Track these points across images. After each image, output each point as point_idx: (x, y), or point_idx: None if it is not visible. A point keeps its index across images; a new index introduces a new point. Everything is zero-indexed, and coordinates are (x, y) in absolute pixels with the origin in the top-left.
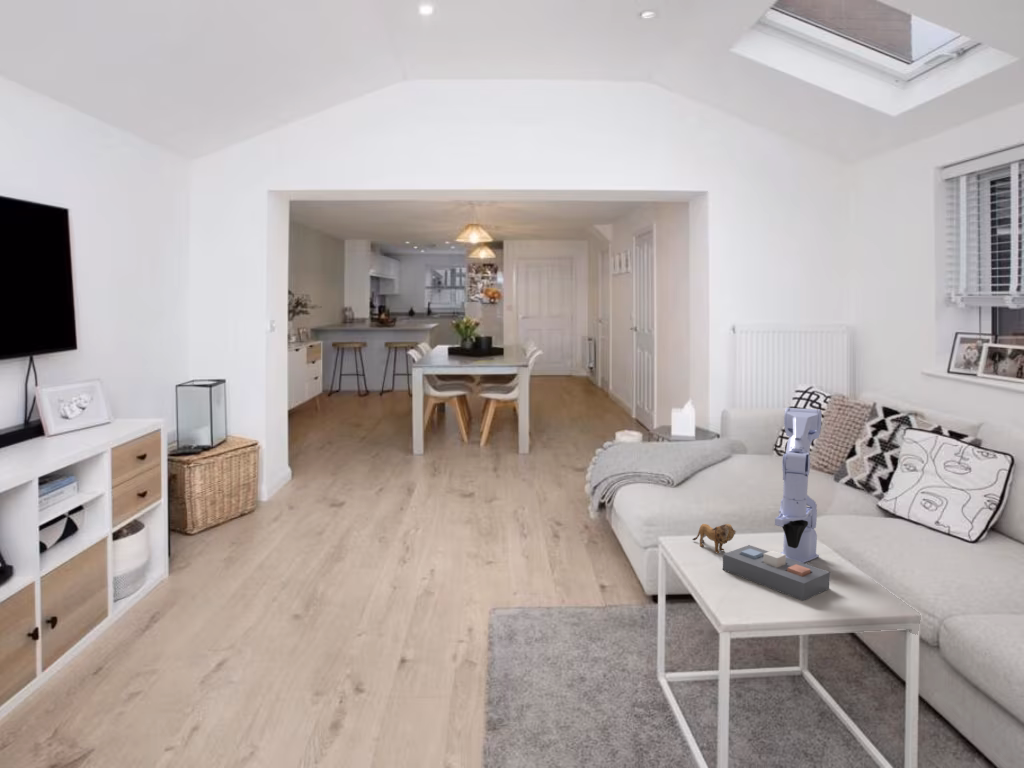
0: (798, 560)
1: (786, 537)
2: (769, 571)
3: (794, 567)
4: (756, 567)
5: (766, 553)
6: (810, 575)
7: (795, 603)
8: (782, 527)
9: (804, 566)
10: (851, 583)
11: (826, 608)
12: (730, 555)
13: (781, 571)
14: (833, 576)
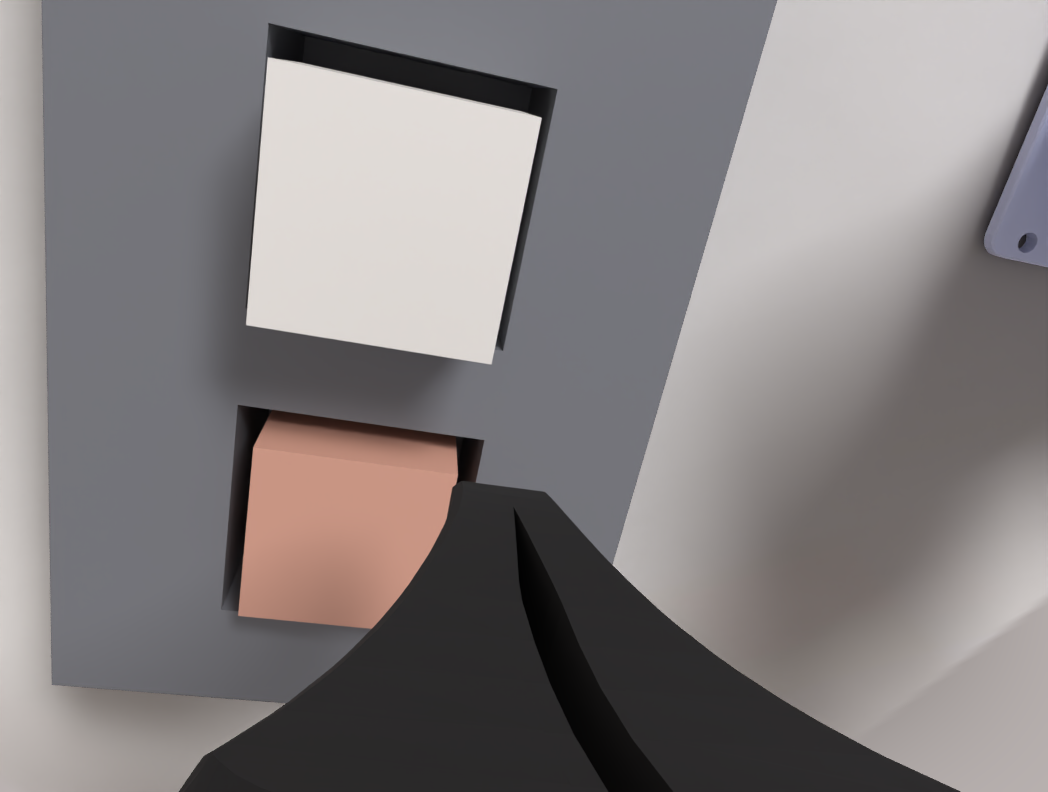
0: (1035, 205)
1: (430, 560)
2: (48, 271)
3: (333, 502)
4: (52, 46)
5: (313, 96)
6: (325, 647)
7: (13, 544)
8: (304, 695)
9: None
10: (760, 677)
11: (146, 720)
12: None
13: (169, 393)
14: (829, 548)
